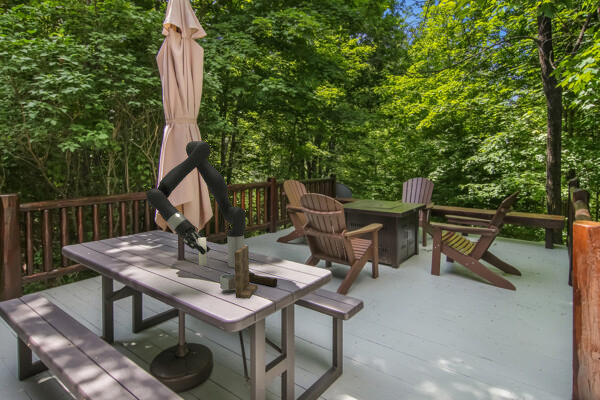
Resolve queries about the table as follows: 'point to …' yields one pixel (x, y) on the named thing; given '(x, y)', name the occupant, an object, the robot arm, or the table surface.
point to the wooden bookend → (243, 274)
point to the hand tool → (262, 280)
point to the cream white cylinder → (201, 257)
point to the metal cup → (227, 282)
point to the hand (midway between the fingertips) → (206, 252)
